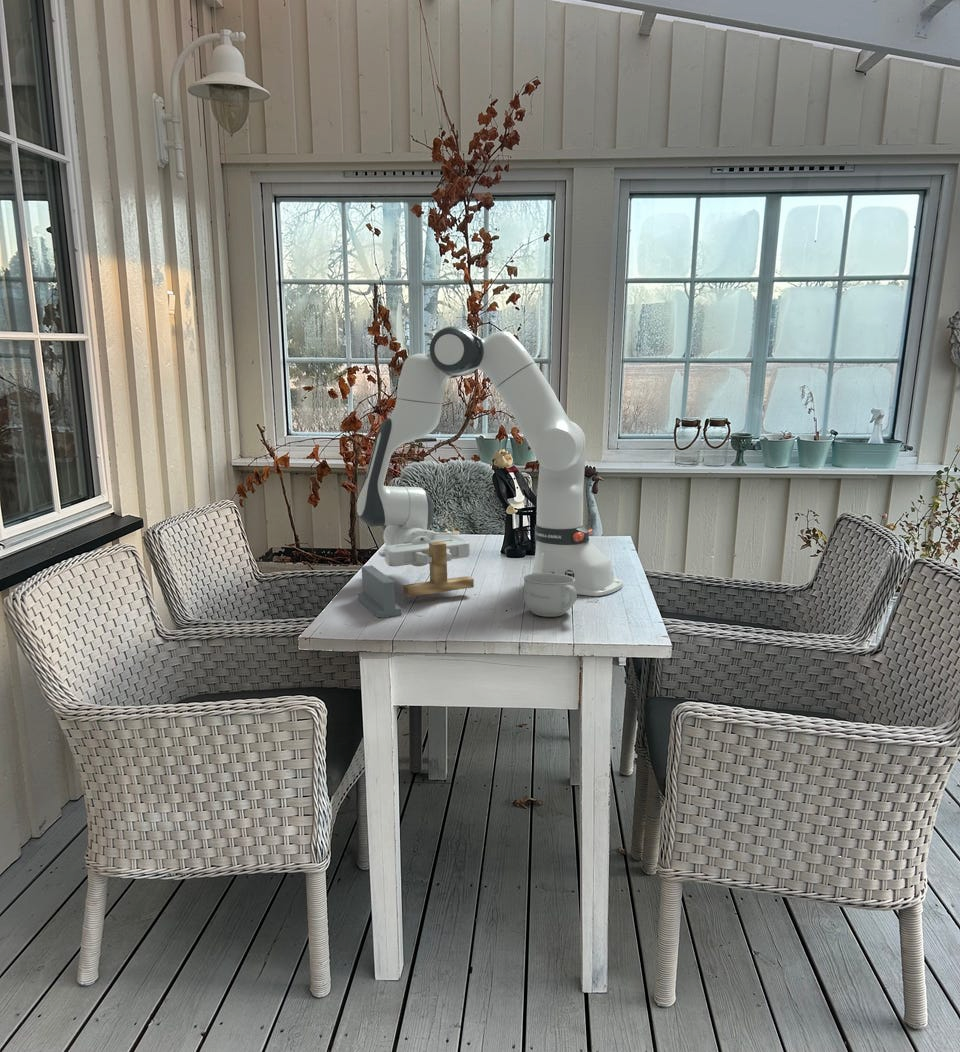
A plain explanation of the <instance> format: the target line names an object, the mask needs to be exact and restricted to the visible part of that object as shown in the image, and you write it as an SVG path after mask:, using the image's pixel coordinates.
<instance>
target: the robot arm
mask: <svg viewBox="0 0 960 1052" xmlns="http://www.w3.org/2000/svg"><path fill="white" fill-rule="evenodd" d="M428 352H429V353H415V354H412V355H409V356H408V357H407V358H406V359H405V360H404V362H403V365H402V368H401V372H400V375H399V381H398V387H397V391H396V399H395V405H394V407H393V410H392V412H391V415H389V417H387V418H385V419H384V420H383V421H381V423H380V426H379V427H378V430H377V433H376V436H375V439H374V442H373V446H372V450H371V454H370V458H369V461H368V465H367V469H366V473H365V477H364V480H363V483H362V486H361V489H360V491H359V493H358V497H357V501H356V514H357V517H358V518H359V519H360V521H362V522H363V523H364V524H365V525H366V526H368V527H370V528H371V527H372V528H373V527H374V528H375V527H383V526H385V529H384V531H383V542H384V544H385V547H384V548H383V550H379V551H378V556H380V557H381V558H382V557H383V558H384V561H385V564H386V565H387V566H389V567H394V568H395V567H402V566H409V565H410V566H413V567H424V566H427V565H428V564H429V565H430V563H433V556H432V555H431V554H429V543H430V542H439V541H442V542H444V543H446V553H447V562H452V560H456V559H457V560H458V559H464V558H465V559H466V558H469V557H470V556H471V542H470V541H468V540H467V539H465V538H463V537H461V536H460V535H452V530H451V531H450V530H448V531H446V530H431V529H430V528H431V527H432V523H433V520H434V515H435V514H434V510H435V507H434V506H435V505H434V502H433V500H432V498H431V495H430V494H429V492H428V491H426V489H425V488H424V487H420V486H419V487H418V486H417V487H416V486H394V485H392V486H391V485H390V486H389V485H384V484H385V481H386V480H385V479H386V477H387V476H386V475H387V473H388V468H389V466H390V461H391V457H392V455H393V453H394V452H395V450H397V449H398V448H399V447H401V446H402V445H405V444H406V443H409V442H412V441H416V440H419V439H422V438H424V437H426V436H428V435H429V434H431V433H432V432H433V431H434V430H435V429H436V428H437V427H438V425H439V423H440V419H441V415H442V408H443V396H444V390H445V385H446V384H447V382H448V380H449V379H454V378H460V377H463V376H464V377H465V376H469V375H471V374H474V373H476V372H477V371H478V370H480V371H481V372H483V373H484V374H485V375H486V377H488V379H489V380H490V382H491V384H492V385H493V386H494V388H495V390H496V391H497V392H498V394H499V396H500V397H501V398H502V401H504V404H505V405H506V406H507V408H508V410H509V411H510V413H511V414H512V416H513V418H514V419H515V422H516V423H517V425H518V427H519V429H520V431H521V433H522V436H523V437H524V438H525V441H526V442H527V444H528V446H529V447H530V449H531V452H532V453H533V454H534V456H535V458H536V460H537V462H538V463H539V466H538V467H539V469H538V480H537V488H536V524H535V525H534V542H535V544H534V545H535V554H534V562H533V567H532V571H531V574H535V573H554V574H562V575H567V576H571V577H573V578H574V579H575V583H574V588H575V590H576V593H577V595H579V596H580V595H581V596H591V597H599V596H600V597H601V596H605V595H610V594H613V593H614V592H616V591H618V590H621V588H622V587H623V586H624V582H623V580H622V579H620V578H616V577H614V567H613V563H612V560H611V559H610V558H609V557H608V556H606V555H605V554H604V553H603V552H602V551H600V549H599V548H598V547H596V546H595V545H594V544H593V543H592V542H591V541H590V535H592V534H593V532H592V531H593V529H592V528H590V529H587V528H586V527H585V525H584V524H583V521H584V517H583V516H584V515H583V514H584V487H585V485H584V483H585V471H586V470H585V468H586V467H585V464H586V447H587V446H586V444H587V443H586V441H587V440H586V435H585V433H584V431H583V430H582V428H581V427H580V426H579V425H578V423H575V422H574V421H572V420H570V418H569V417H568V415H567V414H566V412H565V410H564V408H563V406H562V405H561V403H560V401H559V399H558V397H557V395H556V393H555V391H554V389H553V388H552V386H551V385H550V383H549V381H548V380H547V378H546V377H545V376H544V374H543V373H542V371H541V368H539V366H538V364H537V363H536V361H535V360H534V359H533V357H532V355H530V353H529V352H528V351H527V349H526V348H525V346H524V345H523V344H522V343H521V342H520V340H518V339H517V338H516V337H515V336H514V335H513V334H512V333H511V332H509V331H507V330H506V331H505V330H500V331H495V332H493V333H491V334H489V335H487V336H486V337H483V338H481V336H480V337H479V336H478V335H477V334H475V333H473V332H472V331H471V330H469V329H467V328H464V327H459V326H447V327H444V328H441V329H439V330H438V331H437V332H436V333H435V334H434V335H433V336H432V337H431V340H430V343H429V351H428Z"/></svg>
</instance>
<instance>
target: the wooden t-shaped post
mask: <svg viewBox="0 0 960 1052" xmlns="http://www.w3.org/2000/svg"><path fill="white" fill-rule="evenodd" d="M429 554H431V555H432V556H433V563H430V564H429V581H423V582H422V581H421V582H416V583H415V582H413V583H408V584H403V585H402V586H403V587H402V589H403V595H405V596H406V597H408V598H409V597H416V596H422V595H423V596H424V595H430V594H431V595H432V594H438V593H443V592H445V593H446V592H452V591H456V590H457V591H458V590H459V591H460V590H465V589H466V590H467V589H472V588H474V586H475V584H474V583H475V582H474V578H472V577H471V576H469V575H465V576H458V577H452V578H448V565H447V564H448V563H447V562H448V561H447V553H446V543H444V542H442V541H439V542H430V543H429Z"/></svg>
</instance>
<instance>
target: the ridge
mask: <svg viewBox="0 0 960 1052" xmlns="http://www.w3.org/2000/svg"><path fill="white" fill-rule="evenodd" d="M361 581H362V583H361V584H362V585H361V586H362V587H361V588H362V591H360V592H357V593H356V599H357V600H358V601H359V602H360V603H361V602H362V603H363V604H364V605H363V604H362V603H361V604H362V605H363V606H365V607H366V608H367V609H368V610H369V611H370V610H371V611H372V612H371V611H370V612H371V613H372V614H373V615H375V616H376V615H377V616H378V617H384V618H388V617H387V616H391V617H396V615H398V616H402V607H400V606H399V605H398V604H397V603H396V583H395V580H393V579H391V578H390V577H389V576H387V575H386V574H384V573H383V572H382V571H381V570H379V569H377V568H376V567H375V566H374V565H364V566H363V565H362V566H361ZM377 616H376V617H377ZM378 617H377V618H378Z"/></svg>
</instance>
